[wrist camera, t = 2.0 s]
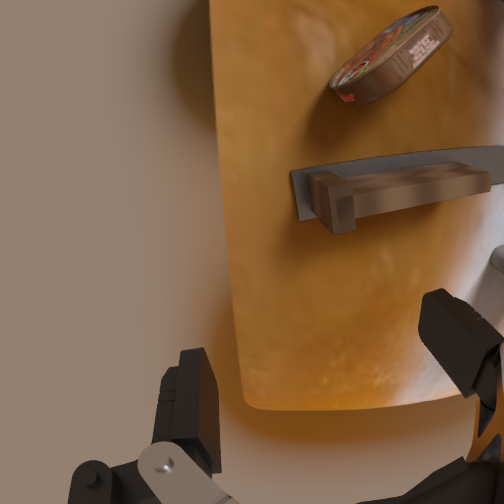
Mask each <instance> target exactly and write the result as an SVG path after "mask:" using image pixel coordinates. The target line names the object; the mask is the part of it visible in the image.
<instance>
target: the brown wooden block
mask: <svg viewBox="0 0 504 504" xmlns="http://www.w3.org/2000/svg"><path fill="white" fill-rule="evenodd" d="M308 177H309V184H310V190H311V197H312V204H313V211H314V214H315V216H316V217H317V218H318V219H319V220H320V221H321V222H322V223H323V224H324V225H325V226H326V227H327V229H328V230H329V231H330V232H331V233H332V234H333V235H337V234H342V233H346V232H351V231H355V230H356V221H355V219H357V218H362V217H366V216H371V215H376V214H381V213H386V212H391V211H395V210H400V209H405V208H410V207H415V206H420V205H425V204H430V203H435V202H439V201H444V200H449V199H454V198H459V197H464V196H470V195H475V194H480V193H485V192H490V190H491V172H488V171H485V170H481V169H478V168H475V167H472V166H469V165H465V164H462V163H458V162H451V163H442V164H434V165H427V166H419V167H412V168H405V169H398V170H391V171H384V172H378V173H371V174H365V175H359V176H353V177H347V178H342V177H340V176H338V175H336V174H334V173H332V172H330V171H323V172H317V173H312V174H308Z"/></svg>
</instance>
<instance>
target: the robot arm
mask: <svg viewBox="0 0 504 504" xmlns="http://www.w3.org/2000/svg"><path fill="white" fill-rule="evenodd" d="M503 1H504V0H503ZM418 332H419V336H420V339H421V340H422V342H423V343H424V345H425V346H426V347H427V348H428V350H429V351H430V352H431V353H432V355H433V356H434V357H435V359H436V360H437V361H438V362H439V364H440V365H441V366H442V368H443V369H444V370H445V372H446V373H447V374H448V375H449V377H450V378H451V379H452V381H453V382H454V383H455V385H456V386H457V388H458V389H459V390H460V392H461V393H462V394H463V396H464V397H465V398H468V397H469V396H471V395H473V394H475V393H477V394H478V398H477V401H476V411H475V423H474V433H473V440H472V445H471V448H470V451H469V453H468V455H467V458H466V461H465V460H464V458H463V456H462V457H460V458H458V459H457V460H455V461H453V462H451V463H450V464H448V465H446V466H444V467H442V468H440V469H438V470H436V471H434V472H433V473H432V474H431V475H429V476H428V477H427V478H425V479H424V480H423V481H422V482H420V483H419V484H418V485H416V486H415V487H414V488H413V489H411V490H410V491H408V492H407V493H406V494H404V495H402V496H398V497H393V498H386V499H380V500H373V501H365V502H360V503H357V504H504V337H503V336H502V335H501V334H500V333H499V332H498V331H497V330H496V329H495V328H494V327H493V326H492V325H491V324H490V323H488V322H487V321H486V320H485V319H484V318H482V316H481V315H480V314H479V313H478V312H475V310H474V309H473V308H472V307H471V306H470V305H469V304H468V303H467V302H465V301H463V300H460V299H458V298H456V297H453V296H452V295H450V294H449V293H448V292H447V291H446V290H445V289H443V288H440V289H437V290H434V291H431V292H428V293H426V294H424V296H423V299H422V305H421V312H420V319H419V325H418ZM221 472H222V470H221V450H220V425H219V395H218V387H217V382H216V379H215V376H214V373H213V370H212V368H211V365H210V363H209V360H208V357H207V355H206V352H205V350H204V348H203V347H201V348H195V349H189V350H182V351H181V353H180V360H179V366H177V367H169V369H168V370H167V372H166V373H165V375H164V376H163V378H162V379H161V385H160V394H159V398H158V404H157V411H156V417H155V424H154V431H153V438H152V443H151V445H150V446H148V447H147V448H146V449H145V450H143V452H142V453H141V454H140V456H139V459H137V460H136V461H133V462H130V463H126V464H123V465H119V466H115V467H111V468H109V467H108V466H107V465H106V464H105V463H103V462H101V461H97V460H91V461H87V462H84V463H82V464H81V465H80V466H79V467H77V469H76V470H75V471H74V473H73V476H72V481H71V487H70V492H69V498H68V504H240V503H239V502H238V501H236V500H235V499H234V498H233V497H231V496H229V495H228V494H227V493H225V492H224V491H223V490H222V489H221V488H220V487H219V486H218V485H217V484H216V483H215V482H214V481H213V480H212V474H215V473H221Z"/></svg>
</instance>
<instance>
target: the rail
mask: <svg viewBox="0 0 504 504" xmlns="http://www.w3.org/2000/svg"><path fill="white" fill-rule="evenodd" d="M451 162H458V163H462V164H465V165H469V166H472V167H475V168H478V169H481V170H485V171H488V172H491V184H495V183H501V182H504V145H502V146H482V147H467V148H453V149H442V150H431V151H421V152H412V153H403V154H395V155H387V156H380V157H372V158H365V159H358V160H352V161H345V162H339V163H333V164H326V165H321V166H315V167H309V168H304V169H298V170H293V171H291V177H292V183H293V188H294V194H295V200H296V207H297V213H298V219H299V221H303V220H308V219H313V218H317V217H316V216H315V214H314V211H313V204H312V197H311V190H310V184H309V177H308V174H312V173H317V172H323V171H330V172H332V173H334V174H336V175H338V176H340V177H342V178H347V177H353V176H359V175H365V174H371V173H378V172H384V171H391V170H398V169H405V168H412V167H419V166H427V165H434V164H442V163H451Z"/></svg>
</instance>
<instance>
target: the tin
mask: <svg viewBox="0 0 504 504" xmlns="http://www.w3.org/2000/svg"><path fill="white" fill-rule="evenodd" d="M452 33H453V28H452V26H451V24H450V22H449V21H448V19H447V18H446V17H445V15H444V14H443V12H442V11H441V8H440V7H439V6H437V5H433V6H428V7H425V8H422V9H419V10H417V11H415V12H413V13H411V14H408V15H406V16H404V17H402V18H401V19H399V20H397V21H396V22H394V23H393V24H391V25H390V26H389V27H387V28H386V29H385V30H383V31H382V32H381V33H380V34H379V35H377V36H376V37H375V38H374V39H373V40H371V41H370V42H369V43H368V44H367V45H366V46H365V47H363V48H362V49H361V50H360V51H359V52H358V53H356V54H355V55H354V56H353V57H352V58H351V59H350V60H349V61H347V62H346V63H345V64H344V65H343V66H342V67H341V68H340V69H339V70H338V71H337V72H336V73H335V75H334V76H333V77H332V79H331V80H330V83H329V86H330V88H332V89H334V91H335V92H336V93H337V94H338V95H339V96H340V97H341V98H342V100H343V101H344V102H346V103H347V104H348V105H365V104H369V103H372V102H374V101H377V100H379V99H381V98H383V97H385V96H386V95H388V94H390V93H391V92H393V91H394V90H395V89H397V88H398V87H399V86H401V85H402V84H403V83H404V82H406V81H407V80H408V79H409V78H410V77H411V76H412V75H413V74H414V73H415V72H416V71H417V70H418V69H419V68H420V67H421V66H422V65H423V64H424V63H425V62H426V61H427V60H428V59H429V58H430V57H431V56H432V55H433V54H434V53H435V52H436V51H437V50H438V49H439V48H440V47H441V46H442V45H443V44H444V43H445V42H446V41H447V40H448V39H449V38H450V37H451V35H452Z"/></svg>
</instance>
